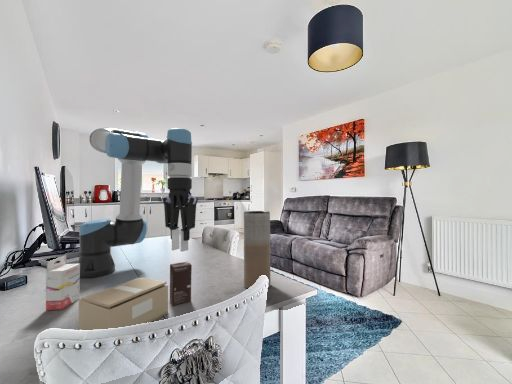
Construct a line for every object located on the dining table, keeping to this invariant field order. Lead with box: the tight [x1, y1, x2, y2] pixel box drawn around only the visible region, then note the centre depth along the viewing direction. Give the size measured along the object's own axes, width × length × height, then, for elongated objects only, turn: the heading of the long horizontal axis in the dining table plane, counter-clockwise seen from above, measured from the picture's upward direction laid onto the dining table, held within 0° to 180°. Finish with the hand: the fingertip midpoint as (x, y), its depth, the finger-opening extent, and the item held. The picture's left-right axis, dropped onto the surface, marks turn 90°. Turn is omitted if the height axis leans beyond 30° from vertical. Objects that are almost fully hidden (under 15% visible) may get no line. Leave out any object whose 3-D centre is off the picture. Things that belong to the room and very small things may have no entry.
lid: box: [80, 277, 168, 308], centre depth 66 cm, size 11×17×1 cm
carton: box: [78, 284, 169, 330], centre depth 66 cm, size 13×17×8 cm
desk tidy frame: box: [38, 251, 80, 267], centre depth 127 cm, size 20×20×2 cm
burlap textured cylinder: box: [243, 210, 271, 289], centre depth 92 cm, size 10×10×28 cm
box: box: [169, 261, 192, 306], centre depth 79 cm, size 6×4×12 cm
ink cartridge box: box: [45, 255, 81, 311], centre depth 78 cm, size 9×5×15 cm, turn 5°
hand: (180, 249), depth 79 cm, fingers open, 3 cm apart
